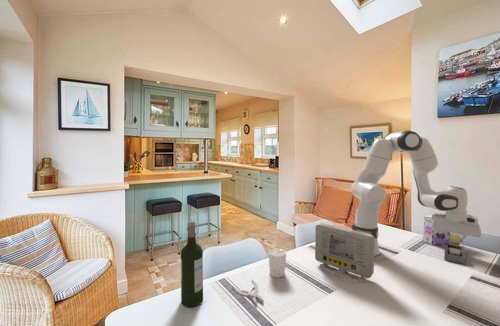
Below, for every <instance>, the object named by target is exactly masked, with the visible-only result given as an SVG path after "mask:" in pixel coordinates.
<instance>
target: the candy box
mask: <svg viewBox="0 0 500 326" xmlns="http://www.w3.org/2000/svg"><path fill="white" fill-rule="evenodd" d="M432 223H433V220H432V215H424V222H423V242H424V243H426V244H429V245H430V246H435V245H436V246H437V245H445V243H449V244H450V240H447V237H446V235H445V234H444V231H439V230H434V229H433V228H432ZM450 233H451V232H448V234H447V235H448V236H450Z"/></svg>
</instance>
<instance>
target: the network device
mask: <svg viewBox="0 0 500 326" xmlns="http://www.w3.org/2000/svg"><path fill="white" fill-rule="evenodd" d="M314 239H315V240H314V241H315V243H314V245H315V246H314V247H315V248H314V249H315V251H314V253H315V254H314V255H315V256H314V257H315V260H316V261H317V262H319V263H322V264H321V265H320V268H321V269H322V270H323V271H326V272H327V273H331V274H334V275H336V276H338V277H342V278H344V279H347V280H350V281H353V282H357V283H360V281H361V282H363V281H364V280H365V279H370V278H372V276H373V275H374V272H375V271H374V270H375V256H374V243H375V238H374V236H373V235H372V234H369V233H364V232H360V231H355V230H352V228H350V229H349V228H345V227H341V226H337V225H332V224H327V223H324V222H322V223H321V222H320V223H318V224H316V225H315V238H314ZM326 266H331V267H334V268H336V269H337V270H336V271H334V270H331V269H329V268H326ZM346 273H351V274H354V275H357V276H358V277H359V276H360V277H359V278H353V277H351V276H349V275H345V274H346ZM362 280H363V281H362Z"/></svg>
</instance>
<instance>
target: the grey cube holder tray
mask: <svg viewBox="0 0 500 326" xmlns="http://www.w3.org/2000/svg"><path fill="white" fill-rule="evenodd" d="M450 248H455V249H460V256H457V255H452V254H449V253H450ZM443 256H444V257H443V259H444V261H447V262H452V263H456V264H461V265H464V266H465V265H466V263H467V262H466V253H465V246H463V245H460V246H457V245H452V244H450V243H445V244H444V255H443Z"/></svg>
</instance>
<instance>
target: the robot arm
mask: <svg viewBox="0 0 500 326" xmlns="http://www.w3.org/2000/svg"><path fill="white" fill-rule="evenodd" d="M394 152H400V153H401V152H407V153H408V155H409V158H410V162H411V163H412V167H413V168H412V169H413V178H414V181H415V184H416V189H417V201H418V203H419V204H420V205H421V206H423V207H426V208H430V209H434V210H437V211H442V212H443V211H444V212H445V214H444V213H434V214H432V215H431V216H432V220H433V223H432V228H433V229H434V230H439V231H444V234H445V235H446V237H447V240H450V236H448V235H447V234H448V232H450V233H452V234H458V235H462V237H460V243H464V241H465V239H466V238H467V236H470V237H475V238H480V237H481V236H482V231H481V229H482V228H481V226H480V224H479V219H478V217H476V216H475V215H471V214H469V213H468V210H467V206H468V193H467V191H466V189H465V188H464V187H463V188H462V187H457V186H452V185H449V186H447V188H446V189H443V190H441V191H435V190H433V189H432V188H431V185H430V182H429V181H430V180H429V178H428V175H429V174H430V173H431V172H432V173H433V171H435V170H436V169H437V167H438V166H439V163H438V159H437V155H436V153H435V150H434V149H433V146H432V144H431V143H430V140H428V138H426V137H421V136H420V135H419V134H418V133H417V132H415V131H412V130H399V131H394V132H389V133H388V134H386V135H385V136H384V137H383V138H382V137H381V138H376V139H375V140H374V142H373V143H372V145H371V147H370V148H369V151H368V154H367V156H366V160H365V162H364V165H363V167H362V169H361V171H360V173H359V174H358V175H359V176H358V177H357V178H356V180H355V181H354V182H352V184H351V186H350V192H351V193H352V194H353V196H354V197H355V198H357V199H359V204H358V207H357V208H356V210H355V220H354V221H355V222H352V224H351V226H350V227H351V228H350V229H351V230H355V231H360V232H364V233H369V234H372V235H373V236H374V238H375V243H374V257H375V256H379V255H380V253H381V251H380V248H379V241H378V240H379V239H378V238H379V226H378V221H379V220H378V217H379V215H378V214H379V211H380V208H381V204H383V202H385V200H386V198H387V191H386V190H385V188H383V186H381V185H379V184H378V182H379V181H380V179H381V178H383V177H384V176H385V174H386V173H387V169H388V167H389V164H390V160H391V157H392V155H393V153H394Z"/></svg>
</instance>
